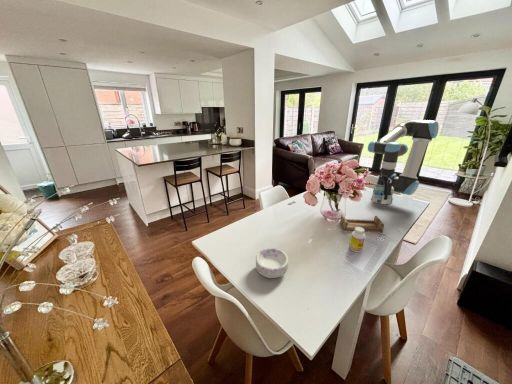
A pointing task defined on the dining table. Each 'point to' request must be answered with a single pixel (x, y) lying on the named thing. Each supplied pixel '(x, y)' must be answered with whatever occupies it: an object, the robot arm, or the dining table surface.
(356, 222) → the tray
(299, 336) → the dining table surface
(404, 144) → the robot arm
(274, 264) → the white marbled bowl
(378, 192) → the light bulb box
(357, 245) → the supplement bottle
